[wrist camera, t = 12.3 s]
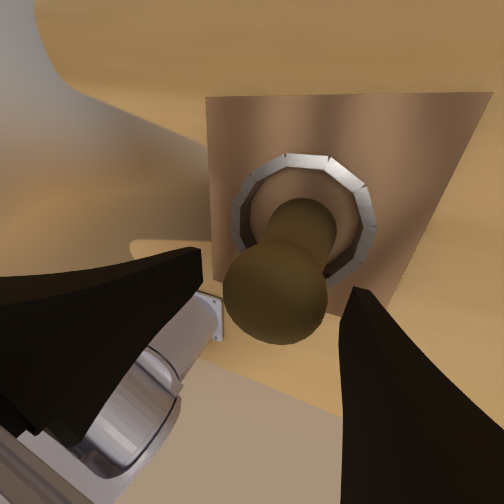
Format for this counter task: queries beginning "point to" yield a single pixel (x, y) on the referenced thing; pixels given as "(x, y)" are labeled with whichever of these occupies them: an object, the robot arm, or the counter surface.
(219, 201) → the walnut mat
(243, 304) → the cork
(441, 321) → the counter surface
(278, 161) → the collar
